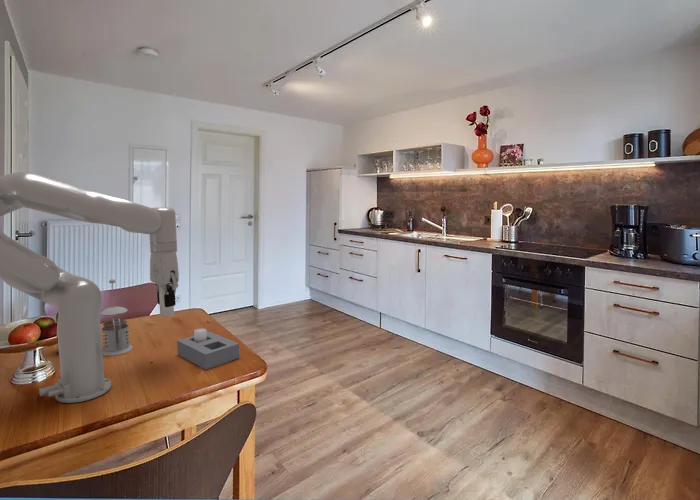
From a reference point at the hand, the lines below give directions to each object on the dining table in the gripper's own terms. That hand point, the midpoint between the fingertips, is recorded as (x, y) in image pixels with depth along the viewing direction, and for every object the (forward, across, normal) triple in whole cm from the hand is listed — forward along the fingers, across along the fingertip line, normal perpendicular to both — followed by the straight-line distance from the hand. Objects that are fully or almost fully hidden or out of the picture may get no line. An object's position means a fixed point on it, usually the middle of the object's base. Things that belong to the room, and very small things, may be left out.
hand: (166, 304), depth 123 cm
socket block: (+19, +5, +11) cm, 23 cm away
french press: (+19, -23, -7) cm, 31 cm away
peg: (+3, 0, 0) cm, 3 cm away
